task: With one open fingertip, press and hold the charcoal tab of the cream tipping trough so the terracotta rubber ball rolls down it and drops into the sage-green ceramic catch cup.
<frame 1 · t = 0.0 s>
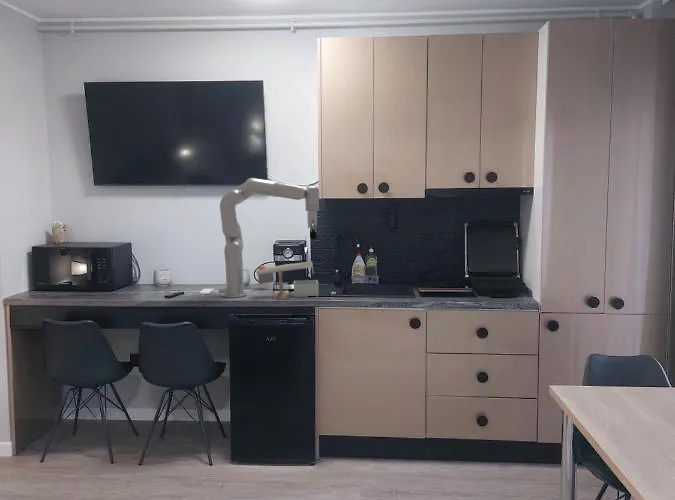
hand: (313, 238, 343), 31 cm above the kitchen counter, tool pointing down, fingers open, 9 cm apart
lever stand: (281, 295, 340), on the kitchen counter
catch cup: (306, 294, 341), on the kitchen counter
foam cup: (268, 289, 364), on the kitchen counter
tipping trough: (285, 271, 343), point 13 cm above the kitchen counter, hinge at -6.0°, touching ball
ball: (261, 268, 337), point 16 cm above the kitchen counter, tilted 30°, touching tipping trough
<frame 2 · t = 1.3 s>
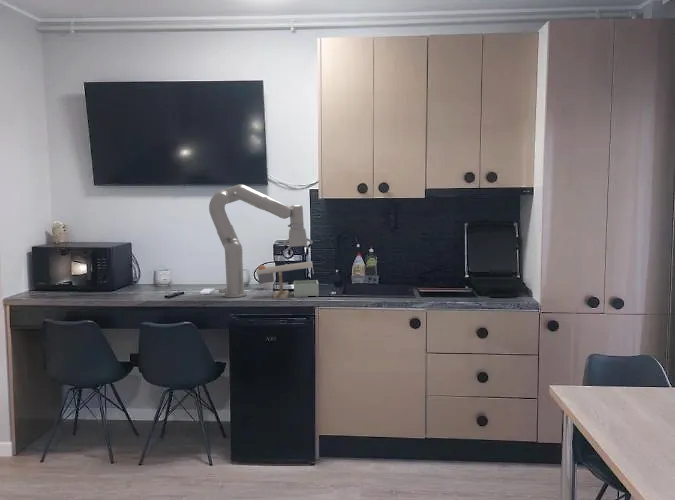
hand: (298, 256, 348), 21 cm above the kitchen counter, tool pointing down, fingers open, 9 cm apart
nothing on the kitchen counter moved.
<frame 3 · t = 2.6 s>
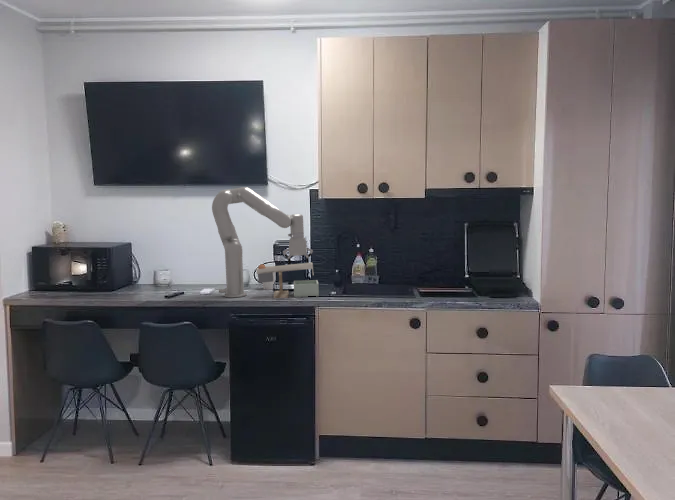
hand: (298, 265, 349), 16 cm above the kitchen counter, tool pointing down, fingers open, 9 cm apart
tipping trough: (285, 271, 343), point 13 cm above the kitchen counter, hinge at -3.6°, touching ball, gripper
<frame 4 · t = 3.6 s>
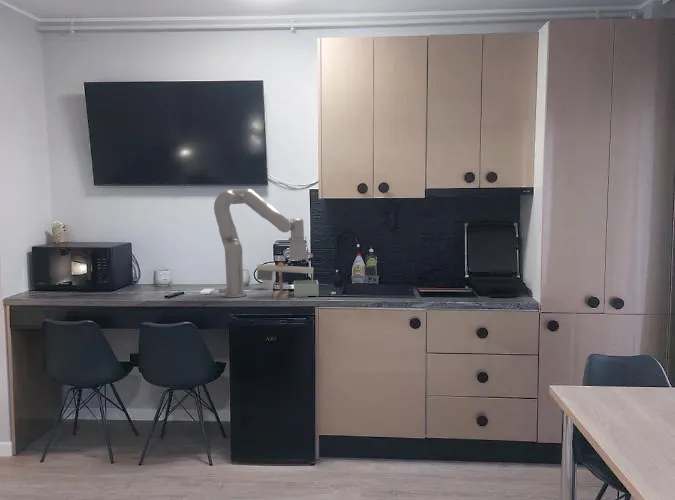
hand: (298, 269, 349), 13 cm above the kitchen counter, tool pointing down, fingers open, 9 cm apart
tipping trough: (285, 272, 343), point 13 cm above the kitchen counter, hinge at 5.5°, touching ball, gripper
ball: (280, 265, 338), point 17 cm above the kitchen counter, tilted 92°, touching tipping trough
everything else where it was.
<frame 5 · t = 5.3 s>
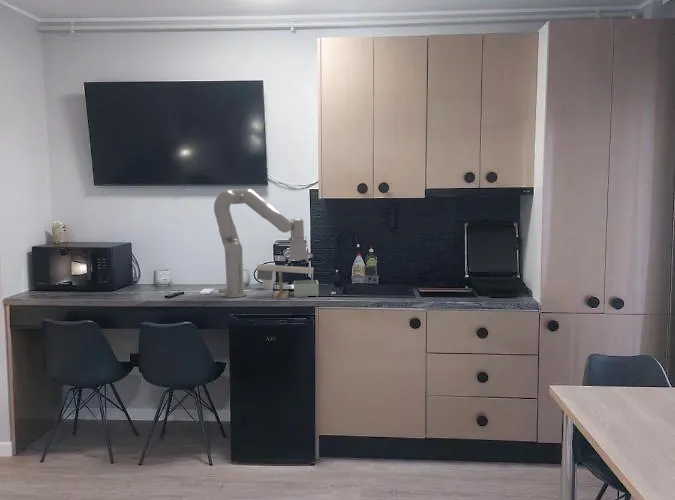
hand: (298, 269, 349), 13 cm above the kitchen counter, tool pointing down, fingers open, 9 cm apart
tipping trough: (285, 272, 343), point 13 cm above the kitchen counter, hinge at 5.8°, touching gripper
ball: (302, 289, 340), point 3 cm above the kitchen counter, tilted 153°, touching catch cup
everything else where it was.
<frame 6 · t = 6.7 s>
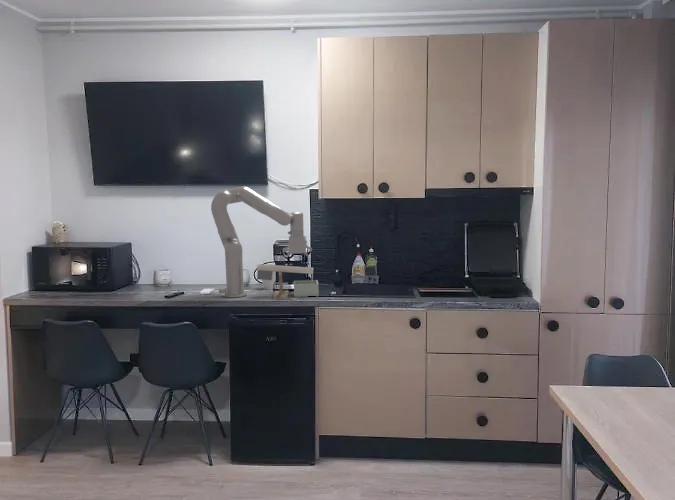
hand: (297, 263, 348), 17 cm above the kitchen counter, tool pointing down, fingers open, 9 cm apart
tipping trough: (285, 272, 343), point 13 cm above the kitchen counter, hinge at 5.8°
ball: (307, 289, 340), point 3 cm above the kitchen counter, tilted 119°, touching catch cup
everything else where it was.
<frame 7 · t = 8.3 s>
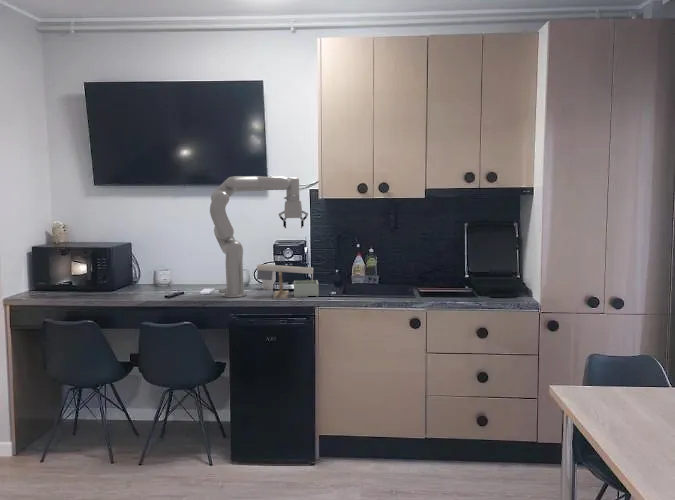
hand: (293, 227, 353), 37 cm above the kitchen counter, tool pointing down, fingers open, 9 cm apart
ball: (313, 289, 341), point 3 cm above the kitchen counter, tilted 35°, touching catch cup
everything else where it was.
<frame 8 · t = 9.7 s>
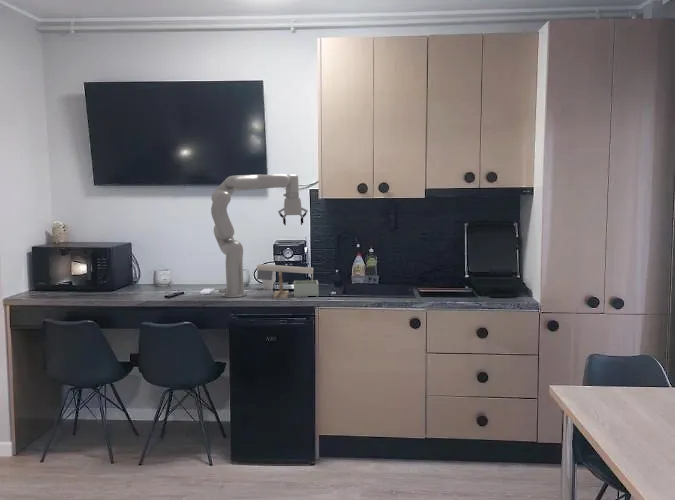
hand: (293, 224, 355), 38 cm above the kitchen counter, tool pointing down, fingers open, 9 cm apart
ball: (312, 289, 341), point 3 cm above the kitchen counter, tilted 43°, touching catch cup
everything else where it was.
at the end: ball inside the target area on the catch cup (3.7 cm from its centre), point 2.8 cm above the catch cup's base; ball touching catch cup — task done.
